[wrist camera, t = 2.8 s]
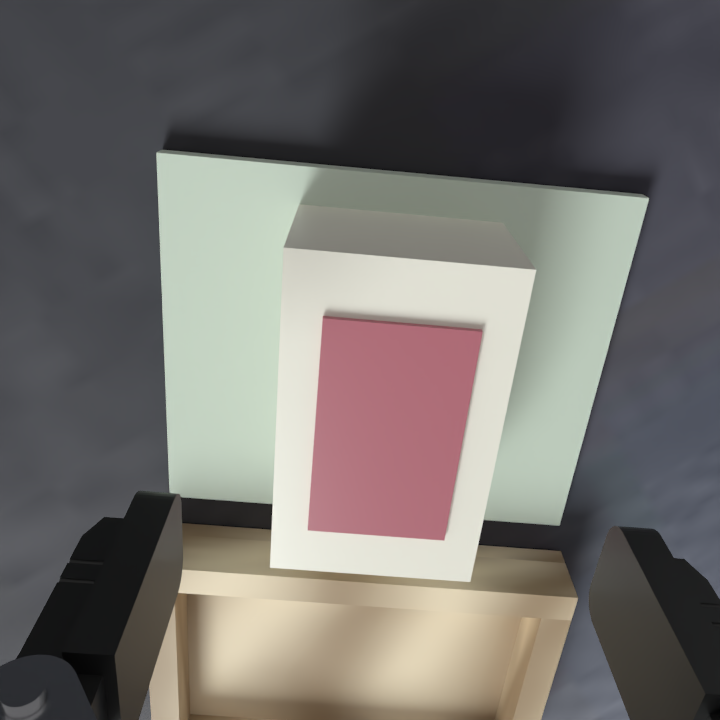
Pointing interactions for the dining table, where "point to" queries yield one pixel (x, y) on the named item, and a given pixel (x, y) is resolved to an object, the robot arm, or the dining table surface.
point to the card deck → (392, 389)
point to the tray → (358, 637)
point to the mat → (263, 312)
